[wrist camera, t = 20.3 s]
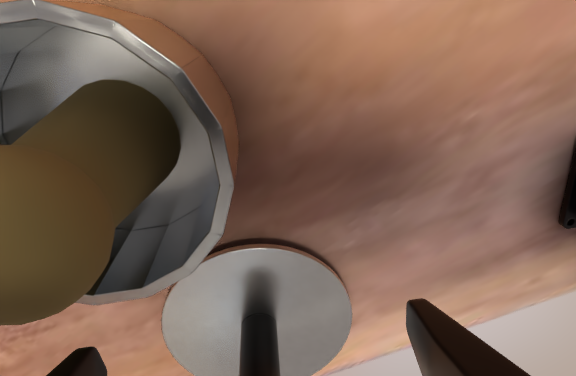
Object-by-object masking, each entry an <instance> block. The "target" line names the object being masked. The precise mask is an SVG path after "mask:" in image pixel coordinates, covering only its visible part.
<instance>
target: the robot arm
mask: <svg viewBox="0 0 576 376" xmlns="http://www.w3.org/2000/svg"><path fill="white" fill-rule="evenodd" d="M559 224H560V225H562V226H563V227H565V228H567V229H570V228H576V149H575V153H574V157H573V162H572V166H571V170H570V174H569V179H568V183H567V187H566V192H565V196H564V200H563V205H562V209H561V213H560V218H559ZM406 328H407V332H408V336H409V339H410V342H411V344H412V347H413V350H414V353H415V356H416V359H417V362H418V365H419V367H420V370H421V373H422V376H530V375H529V374H528V373H526V372H525V371H524V370H522V369H521V368H519V367H518V366H516V365H515V364H514V363H513V362H511V361H510V360H508V359H507V358H506V357H504V356H503V355H502V354H500V353H499V352H497V351H496V350H495V349H493V348H492V347H491V346H489V345H488V344H486V343H485V342H484V341H482V340H481V339H479V338H478V337H477V336H475V335H474V334H473V333H471V332H470V331H468V330H467V329H466V328H464V327H463V326H462V325H460V324H459V323H458V322H456V321H455V320H453V319H452V318H451V317H449V316H448V315H446V314H445V313H444V312H442V311H441V310H440V309H438V308H437V307H435V306H434V305H433V304H431V303H430V302H429V301H427V300H426V299H423V298H421V299H414V300H409V301H408V302H407V307H406ZM46 376H107V369H106V366H105V364H104V362H103V360H102V358H101V356H100V354H99V352H98V350H97V349H96V348H95V347H85V348H79V349H76V350H75V351H73V352H72V353H71V354H70V355H69V356H68V357H67V358H65V359H64V360H63V361H62V362H61V363H60V364H59V365H58V366H57V367H55V368H54V369H53V370H52V371H51V372H50V373H49V374H48V375H46Z"/></svg>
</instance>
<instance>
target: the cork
mask: <svg viewBox="0 0 576 376" xmlns="http://www.w3.org/2000/svg"><path fill="white" fill-rule="evenodd" d="M180 150H181V143H180V131H179V129H178V127H177V124H176V122H175V119H174V117H173V115H172V113H171V112H170V111H169V110H168V108H167V107H166V106H165V105H164V104H163V102H162V101H161V100H160V99H159V98H158V97H156V96H155V95H153V94H152V93H151V92H149V91H148V90H146V89H145V88H143V87H141V86H138V85H135V84H132V83H130V82H127V81H124V80H104V79H102V80H99V81H95V82H92V83H89V84H86V85H83V86H82V87H81V88H79V89H78V90H77V91H76V92H74V93H73V94H72V95H71V96H69V97H68V98H67V99H66V100H64V101H63V102H62V103H61V104H60V105H58V106H57V107H56V108H55V109H54V110H52V111H51V112H50V113H49V114H48V115H46V116H45V117H44V118H43V119H41V120H40V121H39V122H38V123H37V124H35V125H34V126H33V127H32V128H31V129H29V130H28V131H27V132H26V133H25V134H23V135H22V136H21V137H20V138H19V139H17V140H16V141H15V142H14V143H12V144H11V145H0V325H22V324H26V323H30V322H33V321H37V320H40V319H44V318H47V317H49V316H52V315H54V314H57V313H59V312H61V311H62V310H64V309H66V308H67V307H69V306H70V305H72V304H73V303H75V302H76V301H78V300H79V299H80V298H81V297H83V296H84V295H85V294H86V293H87V292H88V291H89V290H90V289H91V288H92V286H93V285H94V284H95V282H96V281H97V279H98V278H99V277H100V275H101V274H102V272H103V271H104V269H105V267H106V265H107V263H108V262H109V259H110V254H111V249H112V245H113V240H114V233H115V228H116V227H117V226H118V225H119V224H120V223H121V222H122V221H123V220H124V219H125V218H126V217H127V216H128V215H129V214H130V213H131V212H132V211H133V210H134V209H135V208H136V207H137V206H138V205H139V204H140V203H141V202H142V201H144V200H145V199H146V198H147V197H148V196H149V195H150V194H151V193H152V192H153V191H154V190H155V189H156V188H157V187H158V186H159V185H160V184H161V183H162V182H163V181H164V180H165V179H166V178H167V177H168V176H169V174H170V173H171V172H172V170H173V169H174V167H175V166H176V165H177V162H178V158H179V154H180Z"/></svg>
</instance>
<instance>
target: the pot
mask: <svg viewBox="0 0 576 376" xmlns="http://www.w3.org/2000/svg"><path fill="white" fill-rule="evenodd" d="M102 79H104V80H124V81H127V82H130V83H132V84H135V85H138V86H141V87H143V88H145V89H146V90H148V91H149V92H151V93H152V94H153V95H155V96H156V97H158V98H159V99H160V100H161V101H162V102H163V104H164V105H165V106H166V107H167V108H168V110H169V111H170V112H171V113H172V115H173V117H174V119H175V122H176V124H177V127H178V129H179V131H180V143H181V150H180V154H179V158H178V162H177V165H176V166H175V167H174V169H173V170H172V172H171V173H170V174H169V176H168V177H167V178H166V179H165V180H164V181H163V182H162V183H161V184H160V185H159V186H158V187H157V188H156V189H155V190H154V191H153V192H152V193H151V194H150V195H149V196H148V197H147V198H146V199H145V200H144V201H142V202H141V203H140V204H139V205H138V206H137V207H136V208H135V209H134V210H133V211H132V212H131V213H130V214H129V215H128V216H127V217H126V218H125V219H124V220H123V221H122V222H121V223H120V224H119V225H118V226H117V227H116V228H115V233H114V240H113V245H112V249H111V254H110V259H109V262H108V263H107V265H106V267H105V269H104V271H103V272H102V274H101V275H100V277H99V278H98V279H97V281H96V282H95V284H94V285H93V286H92V288H91V289H90V290H89V291H88V292H87V293H86V294H85V295H84V296H83V297H81V298H80V299H79V300H78V301H76V302H75V303H81V304H88V305H102V304H109V303H115V302H121V301H128V300H134V299H140V298H147V297H150V296H152V295H154V294H156V293H158V292H159V291H161V290H163V289H165V288H167V287H169V286H171V285H172V284H174V283H176V282H178V281H180V280H182V279H184V278H185V277H187V276H189V275H191V274H192V273H193V272H194V271H195V270H196V269H197V267H198V266H199V265H200V264H201V262H202V261H203V260H204V259H205V257H206V256H207V255H208V254H209V252H210V251H211V250H212V249H213V247H214V246H215V245H216V244H217V242H218V241H219V240H220V239H221V237H222V235H223V234H224V230H225V225H226V221H227V217H228V212H229V208H230V204H231V199H232V195H233V191H234V186H235V178H236V169H237V161H238V153H239V137H238V132H237V124H236V117H235V114H234V110H233V106H232V101H231V99H230V96H229V94H228V93H227V91H226V89H225V87H224V85H223V83H222V81H221V80H220V78H219V76H218V74H217V73H216V72H215V70H214V69H213V68H212V66H211V65H210V64H209V62H208V61H207V60H206V59H205V57H204V55H202V53H200V52H199V51H198V50H197V49H196V48H195V47H193V46H192V45H191V44H190V43H189V42H188V41H186V40H185V39H184V38H183V37H181V36H180V35H178V34H177V33H175V32H174V31H172V30H171V29H169V28H168V27H166V26H164V25H163V24H162V23H160V22H159V21H157V20H155V19H151V18H148V17H144V16H141V15H138V14H136V13H133V12H128V11H123V10H119V9H116V8H112V7H109V6H105V5H100V4H90V3H79V2H69V1H59V0H15V1H8V2H1V3H0V145H11V144H12V143H14V142H15V141H16V140H17V139H19V138H20V137H21V136H22V135H23V134H25V133H26V132H27V131H28V130H29V129H31V128H32V127H33V126H34V125H35V124H37V123H38V122H39V121H40V120H41V119H43V118H44V117H45V116H46V115H48V114H49V113H50V112H51V111H52V110H54V109H55V108H56V107H57V106H58V105H60V104H61V103H62V102H63V101H64V100H66V99H67V98H68V97H69V96H71V95H72V94H73V93H74V92H76V91H77V90H78V89H79V88H81V87H82V86H83V85H86V84H89V83H92V82H95V81H99V80H102Z"/></svg>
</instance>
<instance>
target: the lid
mask: <svg viewBox="0 0 576 376" xmlns="http://www.w3.org/2000/svg"><path fill="white" fill-rule="evenodd" d="M351 324H352V307H351V303H350V299H349V296H348V293H347V290H346V288H345V286H344V284H343V282H342V281H341V280H340V278H339V277H338V275H337V274H336V273H335V272H334V271H333V270H332V269H331V268H330V267H329V266H327V265H326V264H325V263H324V262H322V261H321V260H319V259H318V258H316V257H314V256H312V255H311V254H308V253H306V252H303V251H301V250H298V249H295V248H291V247H287V246H282V245H275V244H247V245H241V246H235V247H231V248H227V249H224V250H221V251H218V252H216V253H213V254H211V255H209V256H207V257H205V259H204V260H203V261H202V262H201V264H200V265H199V266H198V267H197V269H196V270H195V271H194V272H193V273H192V274H191V275H189V276H187V277H185V278H184V279H182V280H180V281H178V282H176V283H174V285H173V286H172V288H171V290H170V292H169V294H168V295H167V298H166V301H165V304H164V307H163V311H162V318H161V325H162V333H163V337H164V340H165V343H166V345H167V348H168V349H169V351H170V353H171V354H172V356H173V357H174V358H175V359H176V360H177V362H178V363H179V364H180V365H181V366H183V367H184V368H185V369H186V370H187V371H189V372H190V373H192V374H193V375H195V376H311V375H313V374H314V373H316V372H318V371H319V370H321V369H322V368H323V367H325V366H326V365H327V364H328V363H329V362H330V361H331V360H332V359H333V358H334V357H335V356H336V355H337V354H338V352H339V351H340V350H341V348H342V347H343V345H344V343H345V342H346V340H347V337H348V335H349V332H350V328H351Z"/></svg>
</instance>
